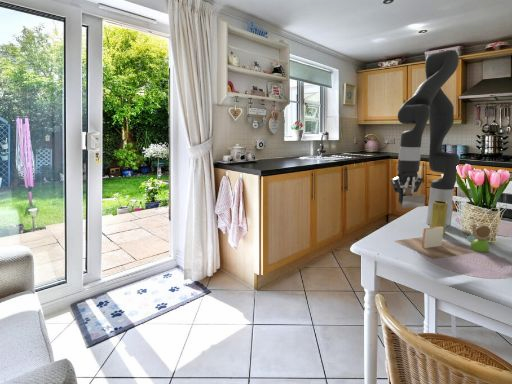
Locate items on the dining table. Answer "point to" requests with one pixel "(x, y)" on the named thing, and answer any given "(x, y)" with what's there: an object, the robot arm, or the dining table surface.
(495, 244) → the dining table surface
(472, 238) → the pacifier
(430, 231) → the tile
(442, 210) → the vase
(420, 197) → the wooden stamp block
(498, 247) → the dining table surface
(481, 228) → the snail figurine
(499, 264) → the dining table surface
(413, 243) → the board
